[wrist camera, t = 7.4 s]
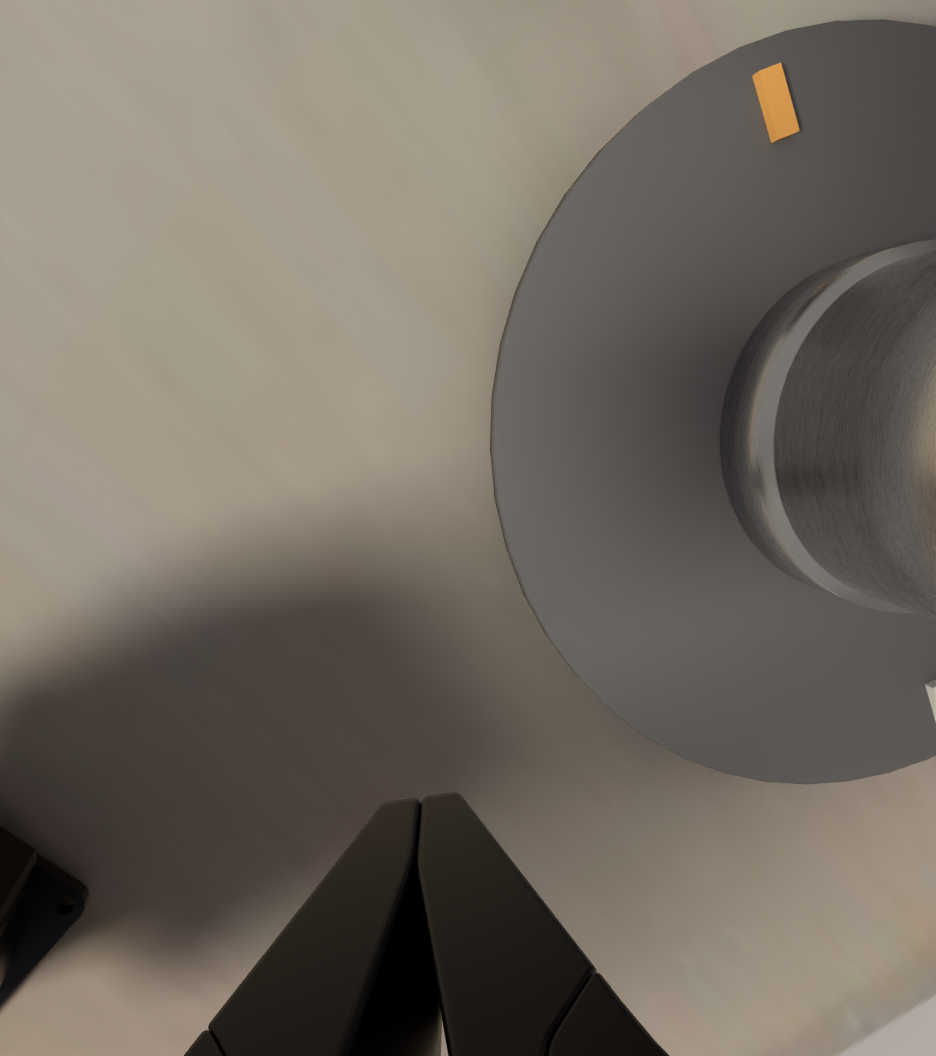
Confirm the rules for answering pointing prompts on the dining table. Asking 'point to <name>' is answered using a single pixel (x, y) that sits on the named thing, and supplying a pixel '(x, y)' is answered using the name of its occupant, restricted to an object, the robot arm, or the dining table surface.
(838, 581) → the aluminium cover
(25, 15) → the dining table surface
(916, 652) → the turntable
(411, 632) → the dining table surface
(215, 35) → the dining table surface
